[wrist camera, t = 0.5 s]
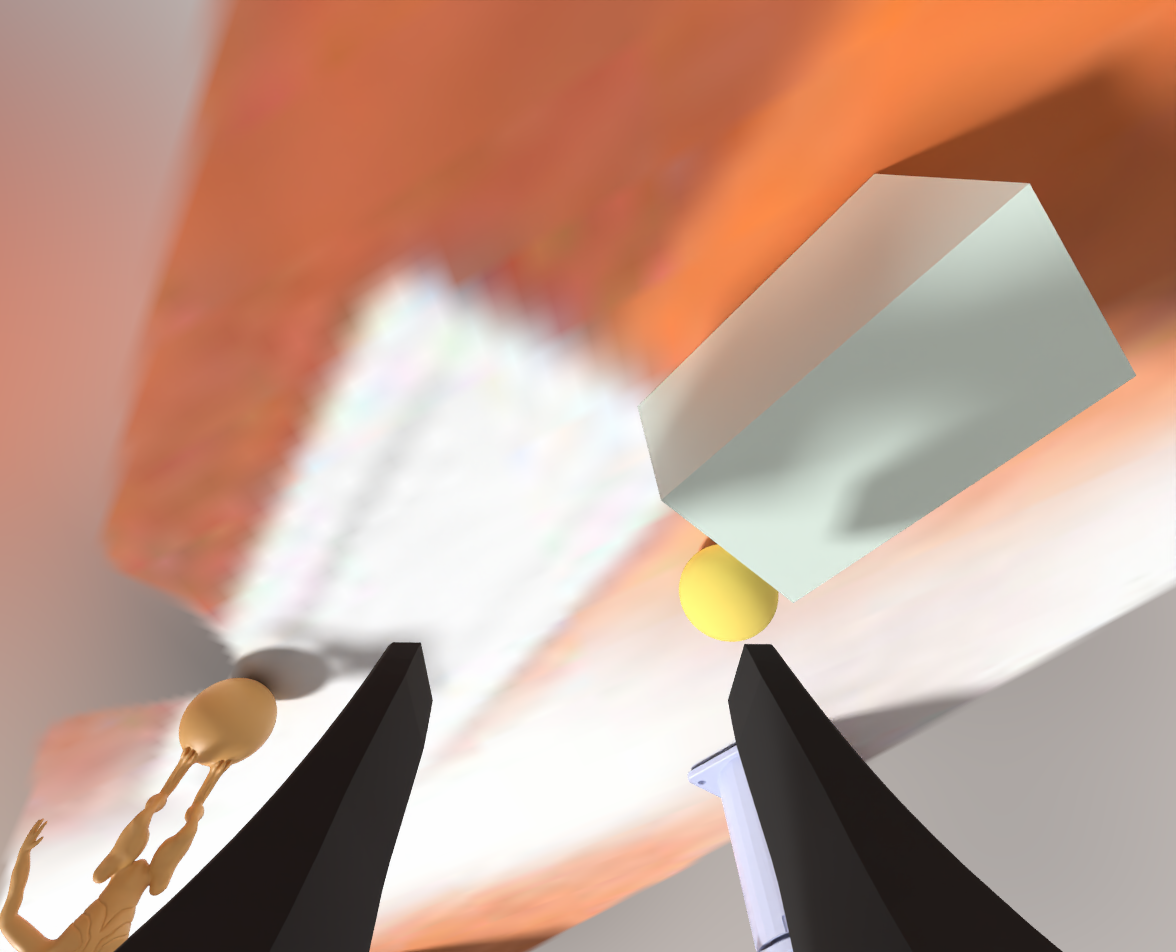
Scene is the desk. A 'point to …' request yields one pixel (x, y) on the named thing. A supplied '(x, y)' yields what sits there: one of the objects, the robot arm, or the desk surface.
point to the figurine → (207, 736)
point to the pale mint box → (879, 376)
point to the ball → (725, 596)
